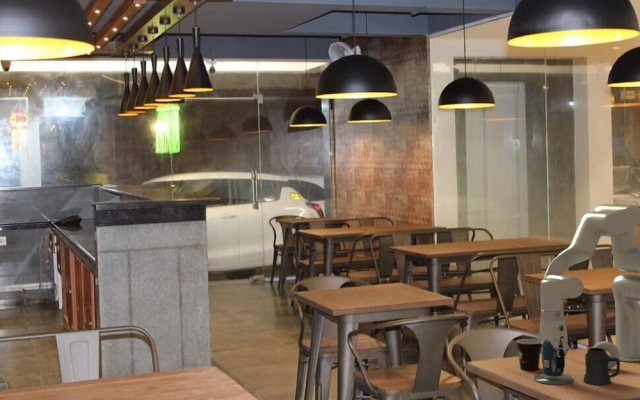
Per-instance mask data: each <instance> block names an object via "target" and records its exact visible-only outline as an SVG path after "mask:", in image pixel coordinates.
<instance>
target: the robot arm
mask: <svg viewBox="0 0 640 400" xmlns="http://www.w3.org/2000/svg"><path fill="white" fill-rule="evenodd" d="M638 225H640V209H639V208H638V207H636V206H634V205H628V204H610V203H609V204H605V203H603V204H600V205H597V206H596V207H594V209H593V211H591V212H587V213H585V214H583V216H582V217H581V219H580V221H579V223H578V226H577V228H576V231H575V233H574V235H573V236H572V240H571V242H570V244H569V246H568V247H567V248H566V249H565V250H563V251H561V252H560V253H559V254H558V255H557V256H555V258H553V260H552V261H551V262H550V263H549V265H548V267H547V269H546V272H545V274H544V277H543V279H542V280H540V284H539V285H540V286H539V287H540V289H539V290H540V323H539V324H540V325H539V337H538V338H537V339H536V340H538V342H539V344H540V347H541V348H540V353H541V355H542V356H541V359H542V361H541V362H542V364H543V343H544V340H545V341H546V342H551V344H552V346H553V348H554V349H556V354H557V357H556V368H557V369H560V368H564V369H565V367H566V365H565V364H566V363H565V361H566V358H565V357H566V355H567V353H568V351H569V350H570V347H569V344H568V343H569V341H568V330H567V325H566V319H565V318H564V299H576V298H578V297H580V296H581V295H582V294H583V292H584V288H585V287H584V282H583V281H582V280H581V279H580V278H578V277H577V276H570V275H564V272H565V271H567V270H568V268H570V267H572V266H574V265H576V264H579V263H582V262H585V261H587V260H589V259H591V258H592V257H593V255H594V253H595V251H596V248H597V246H598V244H599V242H600V239H601V237H606V238H607V237H609V238H610V244H611V249H612V251H611V252H612V258H613V259H612V260H613V264H614V267H615V269H616V270H618V271H620V272H625V273H621V274H618V275H616V276H615V277H614V279H613V280H612V284H611V288H612V294H613V297H614V306H615V311H614V312H615V346H616V347H617V349H618V350H619V353H620V362H631V363H633V362H635V363H636V362H640V303H639V302H640V246H638V245H637V244H636V242H637V241H636V236H635V232H634V229H636V228H637V226H638ZM631 273H635V274H631ZM559 345H561V347H559ZM559 350H561V352H559Z"/></svg>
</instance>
